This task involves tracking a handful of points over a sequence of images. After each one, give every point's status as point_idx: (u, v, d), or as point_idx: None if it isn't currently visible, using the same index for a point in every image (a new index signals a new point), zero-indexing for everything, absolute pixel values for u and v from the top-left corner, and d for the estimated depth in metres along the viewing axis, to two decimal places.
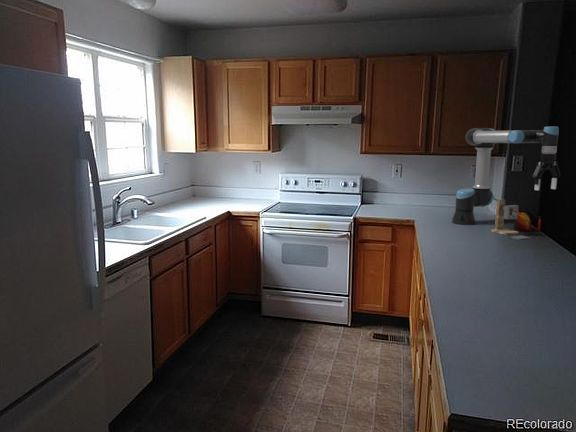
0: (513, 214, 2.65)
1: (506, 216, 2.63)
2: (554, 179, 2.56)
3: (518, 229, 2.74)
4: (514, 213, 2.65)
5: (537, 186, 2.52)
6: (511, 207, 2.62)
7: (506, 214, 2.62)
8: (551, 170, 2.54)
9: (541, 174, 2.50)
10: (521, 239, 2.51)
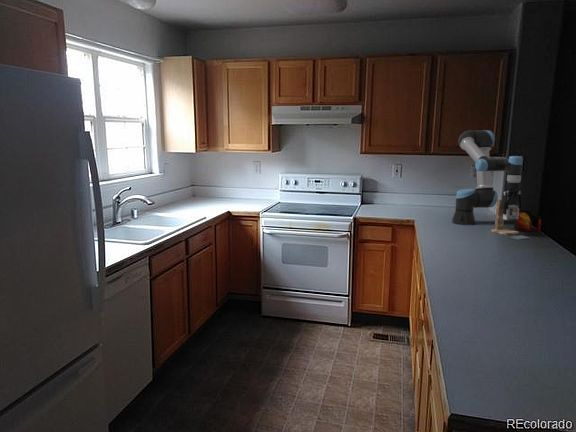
0: (513, 214, 2.65)
1: None
2: None
3: (518, 229, 2.74)
4: (514, 213, 2.65)
5: (505, 216, 2.62)
6: (511, 207, 2.62)
7: None
8: (515, 199, 2.63)
9: (508, 204, 2.61)
10: (521, 239, 2.51)
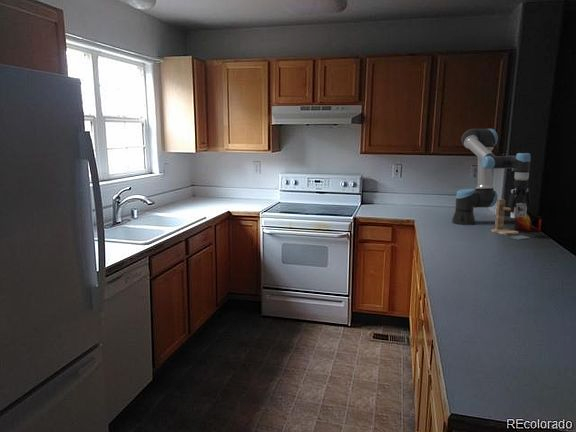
0: (521, 212, 2.60)
1: None
2: None
3: (519, 229, 2.73)
4: (522, 211, 2.59)
5: (513, 214, 2.57)
6: (519, 205, 2.56)
7: None
8: (522, 196, 2.58)
9: (516, 201, 2.55)
10: (521, 239, 2.51)
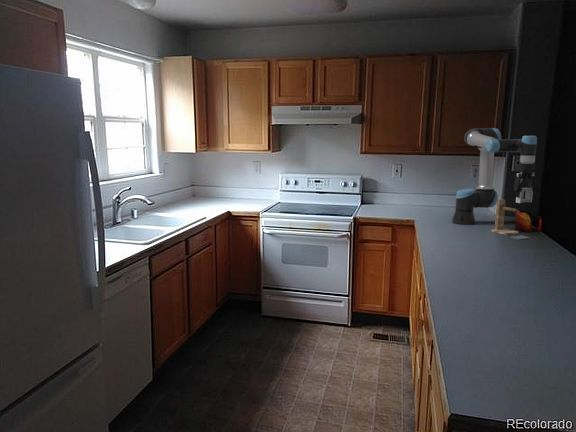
0: (526, 197, 2.51)
1: None
2: None
3: (519, 229, 2.73)
4: (528, 196, 2.51)
5: (518, 199, 2.48)
6: (525, 190, 2.47)
7: None
8: (528, 181, 2.50)
9: (521, 186, 2.47)
10: (521, 239, 2.51)
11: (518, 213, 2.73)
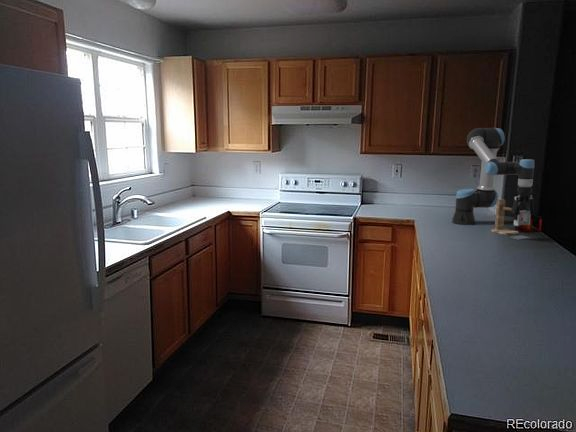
0: (524, 220, 2.54)
1: None
2: None
3: (519, 229, 2.73)
4: (525, 219, 2.53)
5: (516, 221, 2.50)
6: (522, 212, 2.50)
7: None
8: (526, 204, 2.52)
9: (519, 209, 2.49)
10: (521, 239, 2.51)
11: None
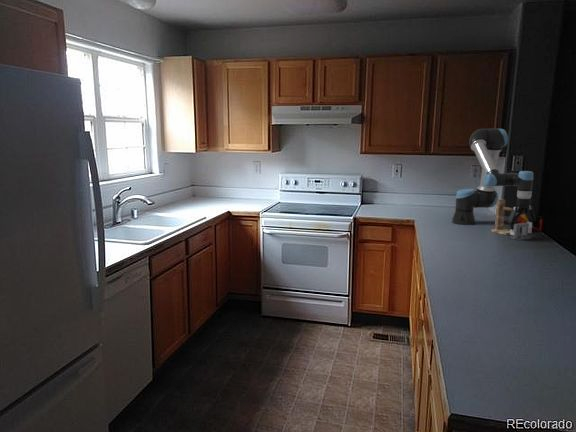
0: (523, 232, 2.55)
1: (516, 235, 2.52)
2: (529, 223, 2.55)
3: None
4: (524, 231, 2.54)
5: (512, 231, 2.51)
6: (521, 225, 2.51)
7: (516, 233, 2.52)
8: (526, 214, 2.53)
9: (516, 219, 2.49)
10: (521, 239, 2.51)
11: None
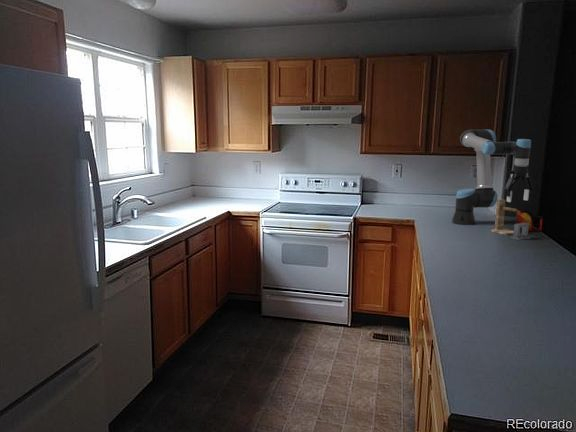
0: (523, 232, 2.55)
1: (516, 235, 2.52)
2: (526, 190, 2.60)
3: (520, 229, 2.73)
4: (524, 231, 2.54)
5: (509, 198, 2.56)
6: (521, 225, 2.51)
7: (516, 233, 2.52)
8: (523, 182, 2.58)
9: (513, 186, 2.54)
10: (521, 239, 2.51)
11: (519, 213, 2.73)
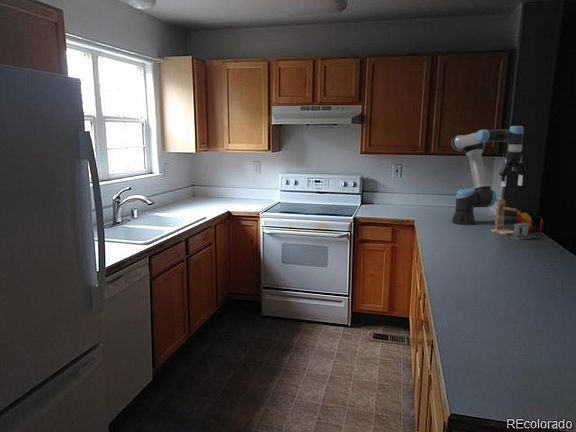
0: (523, 232, 2.55)
1: (516, 235, 2.52)
2: (520, 176, 2.69)
3: (520, 229, 2.73)
4: (524, 231, 2.54)
5: (504, 183, 2.65)
6: (521, 225, 2.51)
7: (516, 233, 2.52)
8: (517, 167, 2.67)
9: (507, 171, 2.63)
10: (521, 239, 2.51)
11: (519, 213, 2.72)
